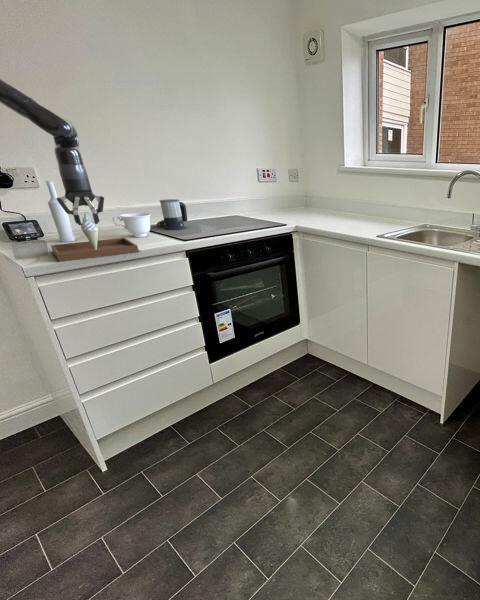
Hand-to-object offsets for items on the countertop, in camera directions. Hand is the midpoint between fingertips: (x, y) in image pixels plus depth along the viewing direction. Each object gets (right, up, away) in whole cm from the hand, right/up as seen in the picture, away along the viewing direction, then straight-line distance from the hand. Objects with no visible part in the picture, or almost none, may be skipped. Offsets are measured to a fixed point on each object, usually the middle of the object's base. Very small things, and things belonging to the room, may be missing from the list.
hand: (88, 224), depth 134 cm
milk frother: (-5, +10, +56) cm, 57 cm away
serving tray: (0, -10, +4) cm, 11 cm away
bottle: (-27, -3, +20) cm, 33 cm away
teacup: (-6, +1, +33) cm, 33 cm away
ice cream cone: (0, -10, +4) cm, 10 cm away
